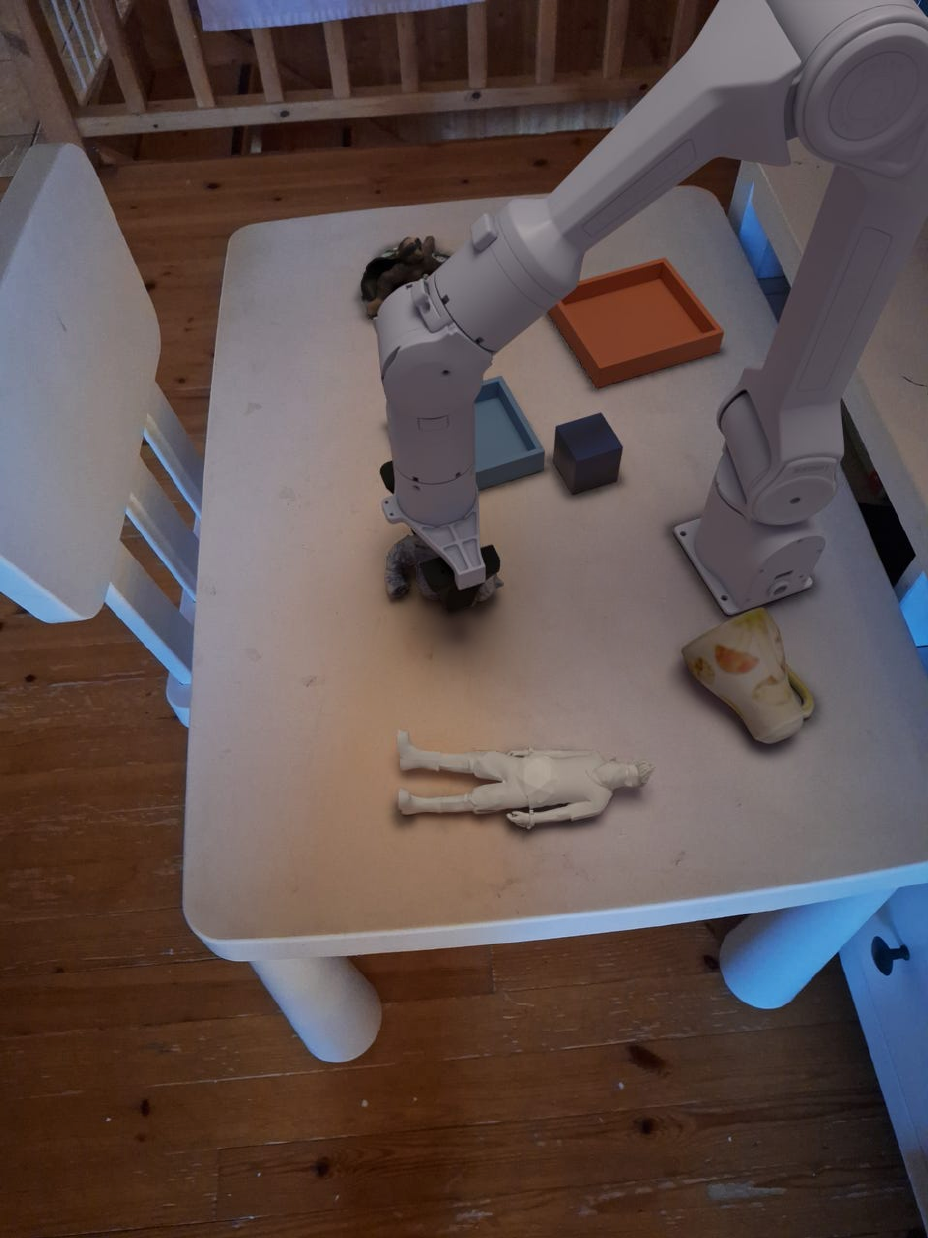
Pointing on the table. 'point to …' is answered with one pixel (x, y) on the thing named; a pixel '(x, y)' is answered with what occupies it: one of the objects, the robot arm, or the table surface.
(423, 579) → the grey curved piece
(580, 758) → the figurine
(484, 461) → the blue tray
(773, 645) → the mug
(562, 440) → the blue block
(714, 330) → the terracotta tray
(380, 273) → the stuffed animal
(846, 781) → the table surface
